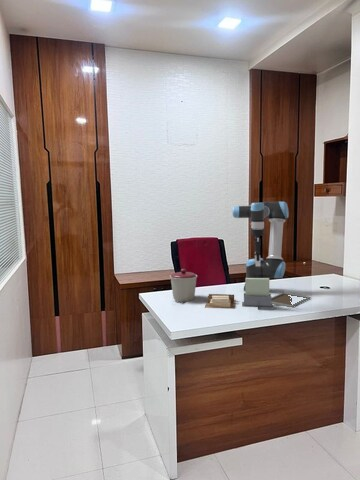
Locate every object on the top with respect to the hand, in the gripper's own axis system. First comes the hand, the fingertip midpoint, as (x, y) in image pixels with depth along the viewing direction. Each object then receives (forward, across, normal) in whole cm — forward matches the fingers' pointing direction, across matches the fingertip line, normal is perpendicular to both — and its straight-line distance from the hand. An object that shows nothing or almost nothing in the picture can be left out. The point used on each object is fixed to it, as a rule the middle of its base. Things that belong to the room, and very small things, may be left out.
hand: (257, 264), depth 212 cm
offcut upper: (+22, +4, -22) cm, 32 cm away
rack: (+26, 0, -22) cm, 34 cm away
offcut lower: (+25, +4, -22) cm, 33 cm away
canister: (+26, -10, -47) cm, 55 cm away
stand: (+26, 0, 0) cm, 26 cm away
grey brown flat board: (+27, -16, +19) cm, 37 cm away
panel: (+25, 0, 0) cm, 25 cm away
